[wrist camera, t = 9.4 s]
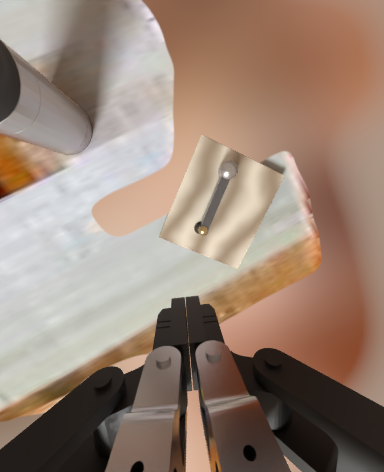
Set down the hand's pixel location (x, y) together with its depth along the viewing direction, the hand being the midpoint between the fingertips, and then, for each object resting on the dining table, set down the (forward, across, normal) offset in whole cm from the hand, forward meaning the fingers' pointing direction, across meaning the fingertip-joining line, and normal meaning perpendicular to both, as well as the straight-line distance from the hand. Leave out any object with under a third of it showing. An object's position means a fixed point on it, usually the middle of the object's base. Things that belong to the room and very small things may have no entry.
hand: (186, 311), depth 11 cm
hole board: (+32, -8, -3) cm, 33 cm away
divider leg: (+30, -7, -4) cm, 31 cm away
